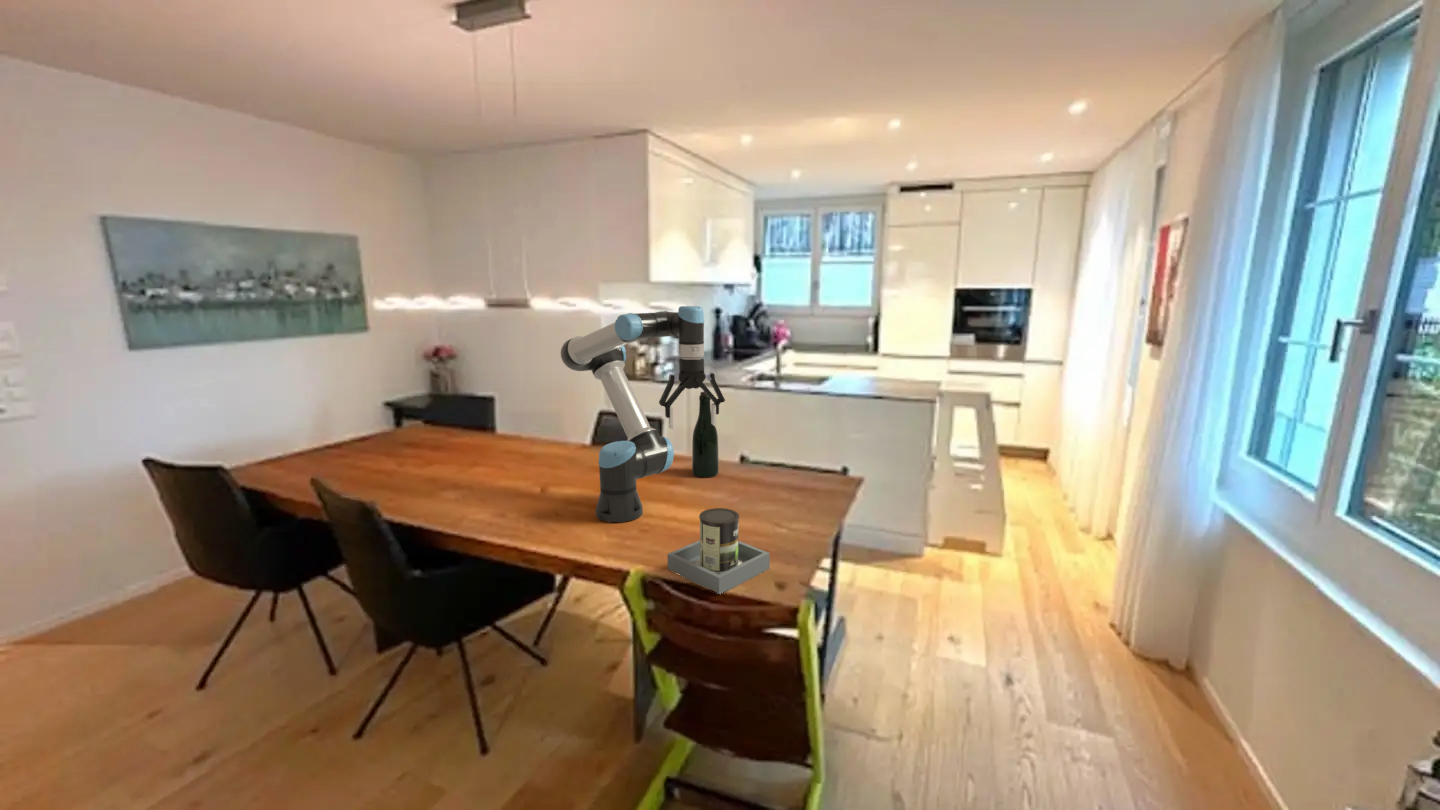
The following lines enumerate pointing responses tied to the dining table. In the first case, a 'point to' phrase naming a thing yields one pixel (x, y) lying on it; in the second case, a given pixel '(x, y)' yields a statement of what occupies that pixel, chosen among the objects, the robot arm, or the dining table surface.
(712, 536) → the coffee can
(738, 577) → the walled box
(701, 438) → the beer bottle
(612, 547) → the dining table surface
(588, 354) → the robot arm
